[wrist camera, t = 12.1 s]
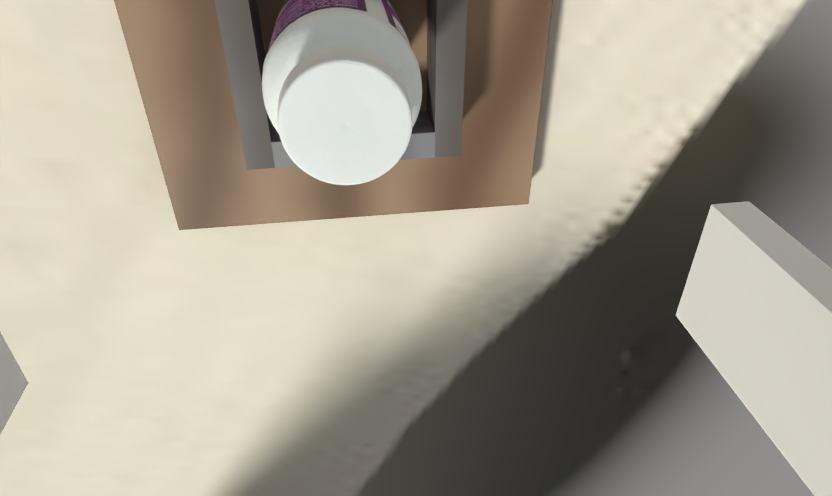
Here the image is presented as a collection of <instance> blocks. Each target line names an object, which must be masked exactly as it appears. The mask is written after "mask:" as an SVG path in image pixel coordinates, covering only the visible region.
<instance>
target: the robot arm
mask: <svg viewBox="0 0 832 496" xmlns="http://www.w3.org/2000/svg"><path fill="white" fill-rule="evenodd" d="M676 316H677V318H678V319H679V320H680V322H681V323H682V324H683V325H684V327H685V328H686V329H687V331H688V332H689V333H690V335H691V336H692V337H693V338H694V340H695V341H696V342H697V344H698V345H699V346H700V348H701V349H702V350H703V352H704V353H705V354H706V355H707V357H708V358H709V359H710V361H711V362H712V363H713V364H714V366H715V367H716V368H717V370H718V371H719V372H720V374H721V375H722V376H723V378H724V379H725V380H726V381H727V383H728V384H729V385H730V387H731V388H732V389H733V390H734V392H735V393H736V394H737V396H738V397H739V398H740V399H741V401H742V402H743V404H744V405H745V406H746V407H747V409H748V410H749V411H750V413H751V414H752V415H753V417H754V418H755V419H756V420H757V422H758V423H759V424H760V426H761V427H762V428H763V430H764V431H765V432H766V433H767V435H768V436H769V437H770V439H771V440H772V441H773V443H774V444H775V445H776V446H777V448H778V449H779V450H780V451H781V453H782V454H783V456H784V457H785V458H786V459H787V461H788V462H789V463H790V464H791V466H792V467H793V469H794V470H795V471H796V472H797V473H798V475H799V476H800V478H801V479H802V480H803V481H804V483H805V484H806V485H807V487H808V488H809V489H810V491H811V492H812V493H813V495H814V496H832V269H831V268H830V267H828V266H827V265H826V264H825V263H824V262H822V261H821V260H820V259H819V258H818V257H816V256H815V255H814V254H813V253H811V252H810V251H809V250H808V249H806V248H805V247H804V246H803V245H802V244H800V243H799V242H798V241H797V240H795V239H794V238H793V237H792V236H791V235H789V234H788V233H787V232H786V231H784V230H783V229H782V228H781V227H780V226H778V225H777V224H776V223H775V222H773V221H772V220H771V219H769V217H767V216H766V215H765V214H764V213H762V212H761V211H760V210H759V209H758V208H756V207H755V206H754V205H753V204H751V203H750V202H737V203H726V204H713V205H711V207H710V211H709V214H708V217H707V220H706V223H705V226H704V229H703V232H702V235H701V239H700V242H699V245H698V248H697V251H696V254H695V257H694V260H693V263H692V266H691V269H690V273H689V276H688V279H687V282H686V285H685V288H684V291H683V294H682V297H681V301H680V303H679V307H678V310H677V313H676ZM27 384H28V381H27V380H26V378H25V376H24V374H23V372H22V371H21V369H20V367H19V365H18V363H17V362H16V360H15V358H14V356H13V354H12V353H11V351H10V349H9V347H8V345H7V344H6V342H5V340H4V338H3V336H2V335H1V333H0V434H1V432H2V430H3V429H4V427H5V425H6V423H7V421H8V419H9V417H10V416H11V414H12V412H13V410H14V408H15V406H16V404H17V403H18V401H19V399H20V397H21V395H22V393H23V391H24V390H25V388H26V386H27Z"/></svg>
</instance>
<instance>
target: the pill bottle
mask: <svg viewBox="0 0 832 496" xmlns="http://www.w3.org/2000/svg"><path fill="white" fill-rule="evenodd" d="M262 92H263V99H264V104H265V108H266V111H267V114H268V116H269V118H270V120H271V122H272V124H273V126H274V128H275V129H276V131H277V132H278V134H279V135H280V139H281V142H282V145H283V147H284V149H285V151H286V152H287V154H288V155H289V157H290V158H291V160H292V161H293V162H294V163H295V164H296V165H297V166H298V167H299V168H300V169H302V170H303V171H304V172H306V173H307V174H309V175H311V176H312V177H314V178H316V179H318V180H320V181H323V182H326V183H330V184H336V185H355V184H361V183H365V182H369V181H371V180H374V179H376V178H378V177H380V176H382V175H383V174H385V173H386V172H388V171H389V170H390V169H391V168H392V167H393V166H394V165H395V164H396V163H397V162H398V161H399V160H400V158H401V157H402V155H403V154H404V153H405V151H406V149H407V146H408V144H409V141H410V137H411V133H412V128H413V126H414V124H415V122H416V119H417V117H418V114H419V110H420V106H421V101H422V80H421V74H420V69H419V64H418V61H417V59H416V57H415V54H414V52H413V50H412V48H411V45H410V43H409V41H408V38H407V36H406V33H405V31H404V28H403V26H402V24H401V22H400V20H399V18H398V16H397V14H396V12H395V10H394V8H393V7H392V5H391V3H390V2H389V0H286V1H285V2H284V4H283V6H282V8H281V10H280V13H279V15H278V18H277V21H276V24H275V28H274V31H273V34H272V38H271V42H270V46H269V49H268V53H267V55H266V58H265V60H264V64H263V73H262Z"/></svg>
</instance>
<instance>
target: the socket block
mask: <svg viewBox="0 0 832 496" xmlns="http://www.w3.org/2000/svg"><path fill="white" fill-rule="evenodd" d="M285 1H286V0H114V2H115V5H116V9H117V12H118V16H119V19H120V23H121V26H122V30H123V33H124V37H125V40H126V44H127V47H128V51H129V55H130V58H131V62H132V65H133V69H134V72H135V76H136V79H137V83H138V86H139V90H140V93H141V97H142V100H143V104H144V107H145V111H146V115H147V118H148V122H149V125H150V129H151V132H152V136H153V139H154V143H155V146H156V150H157V153H158V157H159V160H160V164H161V167H162V171H163V175H164V178H165V182H166V185H167V189H168V192H169V196H170V199H171V203H172V206H173V210H174V213H175V217H176V220H177V224H178V227H179V230H185V229H199V228H212V227H226V226H239V225H252V224H266V223H279V222H293V221H306V220H320V219H333V218H346V217H360V216H373V215H387V214H400V213H414V212H427V211H440V210H454V209H467V208H481V207H494V206H507V205H521V204H528V203H529V195H530V186H531V178H532V170H533V161H534V153H535V144H536V136H537V128H538V119H539V111H540V102H541V94H542V86H543V77H544V69H545V60H546V52H547V43H548V35H549V27H550V18H551V10H552V1H553V0H389V2H390V3H391V5H392V7H393V8H394V10H395V12H396V14H397V16H398V18H399V20H400V22H401V24H402V26H403V28H404V31H405V33H406V36H407V38H408V41H409V43H410V45H411V48H412V50H413V52H414V54H415V57H416V59H417V61H418V64H419V69H420V74H421V80H422V101H421V106H420V110H419V114H418V117H417V119H416V122H415V124H414V126H413V128H412V133H411V137H410V141H409V144H408V146H407V149H406V151H405V153H404V154H403V155H402V157H401V158H400V160H399V161H398V162H397V163H396V164H395V165H394V166H393V167H392V168H391V169H390V170H389V171H388V172H386V173H385V174H383V175H382V176H380V177H378V178H376V179H374V180H371V181H369V182H365V183H361V184H355V185H336V184H330V183H326V182H323V181H320V180H318V179H316V178H314V177H312V176H311V175H309V174H307V173H306V172H304V171H303V170H302V169H300V168H299V167H298V166H297V165H296V164H295V163H294V162H293V161H292V160H291V158H290V157H289V155H288V154H287V152H286V151H285V149H284V147H283V145H282V142H281V139H280V135H279V134H278V132H277V131H276V129H275V128H274V126H273V124H272V122H271V120H270V118H269V116H268V114H267V111H266V108H265V104H264V99H263V92H262V73H263V64H264V60H265V58H266V55H267V53H268V49H269V46H270V42H271V38H272V34H273V31H274V28H275V24H276V21H277V18H278V15H279V13H280V10H281V8H282V6H283V4H284V2H285Z"/></svg>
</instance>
